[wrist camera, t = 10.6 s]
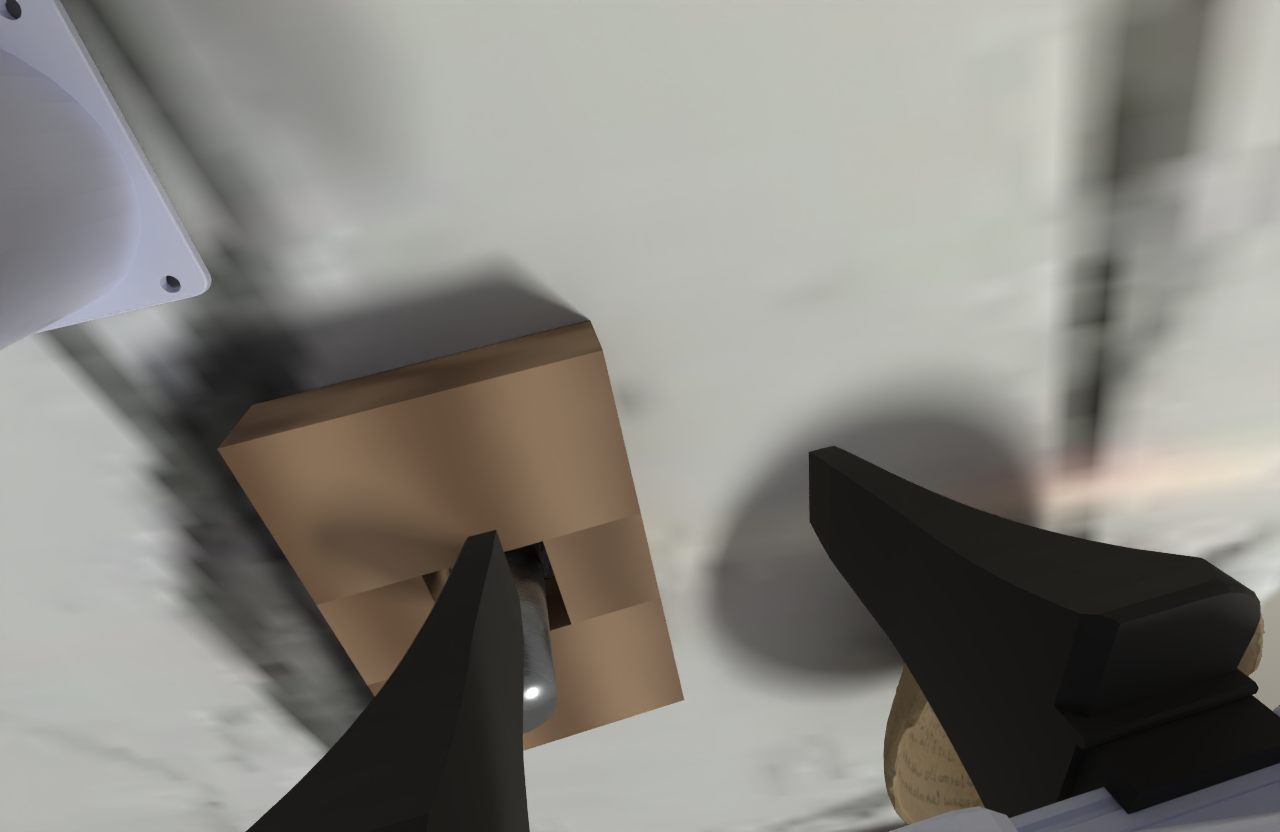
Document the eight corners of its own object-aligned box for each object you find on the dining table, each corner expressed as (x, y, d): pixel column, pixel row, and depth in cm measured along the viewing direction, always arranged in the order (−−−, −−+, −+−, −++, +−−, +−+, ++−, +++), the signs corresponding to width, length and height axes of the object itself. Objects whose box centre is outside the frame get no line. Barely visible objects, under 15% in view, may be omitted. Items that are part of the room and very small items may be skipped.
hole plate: (433, 720, 30) (428, 780, 27) (251, 404, 21) (217, 448, 18) (668, 649, 31) (683, 699, 28) (589, 320, 22) (602, 350, 19)
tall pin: (460, 564, 26) (449, 737, 19) (475, 507, 25) (469, 669, 18) (529, 572, 27) (543, 739, 20) (547, 517, 26) (568, 674, 19)
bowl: (766, 718, 35) (832, 869, 28) (904, 447, 28) (1038, 562, 21) (1007, 716, 41) (1111, 843, 34) (1175, 491, 33) (1352, 593, 27)
